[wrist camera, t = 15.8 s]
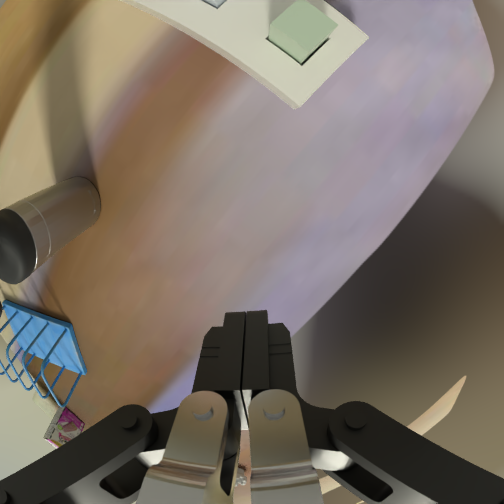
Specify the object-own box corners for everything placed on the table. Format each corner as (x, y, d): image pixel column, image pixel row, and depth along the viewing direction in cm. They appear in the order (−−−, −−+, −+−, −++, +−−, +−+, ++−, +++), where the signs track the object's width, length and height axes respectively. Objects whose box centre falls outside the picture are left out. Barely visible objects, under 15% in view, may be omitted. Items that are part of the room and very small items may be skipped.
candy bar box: (85, 423, 76) (72, 457, 61) (78, 423, 77) (65, 455, 62) (65, 405, 71) (48, 439, 57) (58, 405, 72) (42, 438, 57)
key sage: (319, 47, 30) (338, 24, 21) (296, 70, 31) (309, 52, 22) (290, 25, 28) (300, -3, 19) (267, 48, 30) (270, 23, 21)
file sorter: (23, 345, 59) (-1, 378, 45) (5, 298, 52) (-27, 331, 38) (87, 371, 60) (65, 414, 46) (72, 322, 53) (40, 368, 39)
